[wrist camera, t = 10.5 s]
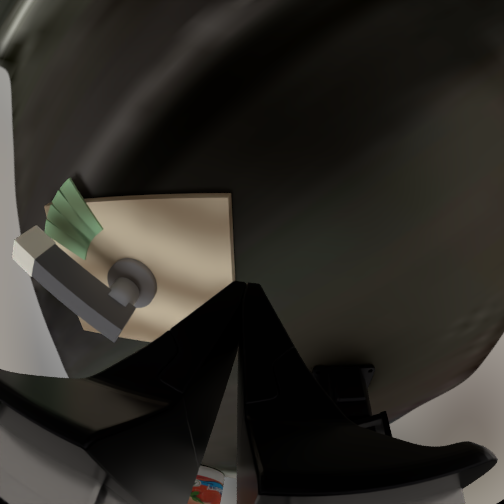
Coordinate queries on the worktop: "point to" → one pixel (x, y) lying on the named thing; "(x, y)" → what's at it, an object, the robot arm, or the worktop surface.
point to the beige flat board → (149, 249)
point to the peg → (76, 284)
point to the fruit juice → (207, 487)
